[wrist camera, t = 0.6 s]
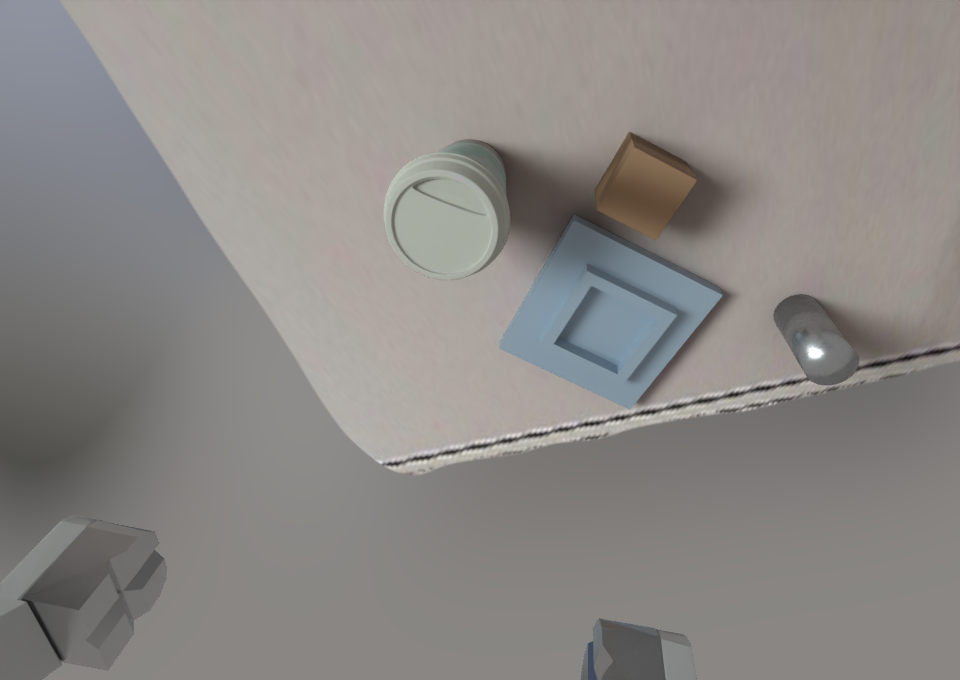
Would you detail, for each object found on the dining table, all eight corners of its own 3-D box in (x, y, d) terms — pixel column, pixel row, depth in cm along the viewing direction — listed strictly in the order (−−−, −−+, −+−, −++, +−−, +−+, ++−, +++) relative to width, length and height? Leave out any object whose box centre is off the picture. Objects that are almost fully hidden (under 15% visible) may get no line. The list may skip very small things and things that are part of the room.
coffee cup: (544, 186, 46) (534, 242, 36) (464, 244, 50) (435, 309, 40) (478, 96, 43) (448, 130, 33) (398, 164, 47) (349, 213, 37)
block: (629, 131, 43) (634, 147, 39) (685, 161, 44) (697, 180, 40) (595, 189, 46) (596, 210, 42) (648, 217, 46) (655, 240, 42)
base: (573, 214, 47) (573, 227, 44) (719, 287, 48) (726, 303, 46) (501, 339, 54) (497, 357, 52) (629, 399, 56) (631, 419, 53)
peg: (793, 287, 48) (828, 337, 41) (829, 305, 48) (870, 357, 41) (764, 320, 50) (793, 372, 43) (799, 337, 50) (833, 392, 43)
